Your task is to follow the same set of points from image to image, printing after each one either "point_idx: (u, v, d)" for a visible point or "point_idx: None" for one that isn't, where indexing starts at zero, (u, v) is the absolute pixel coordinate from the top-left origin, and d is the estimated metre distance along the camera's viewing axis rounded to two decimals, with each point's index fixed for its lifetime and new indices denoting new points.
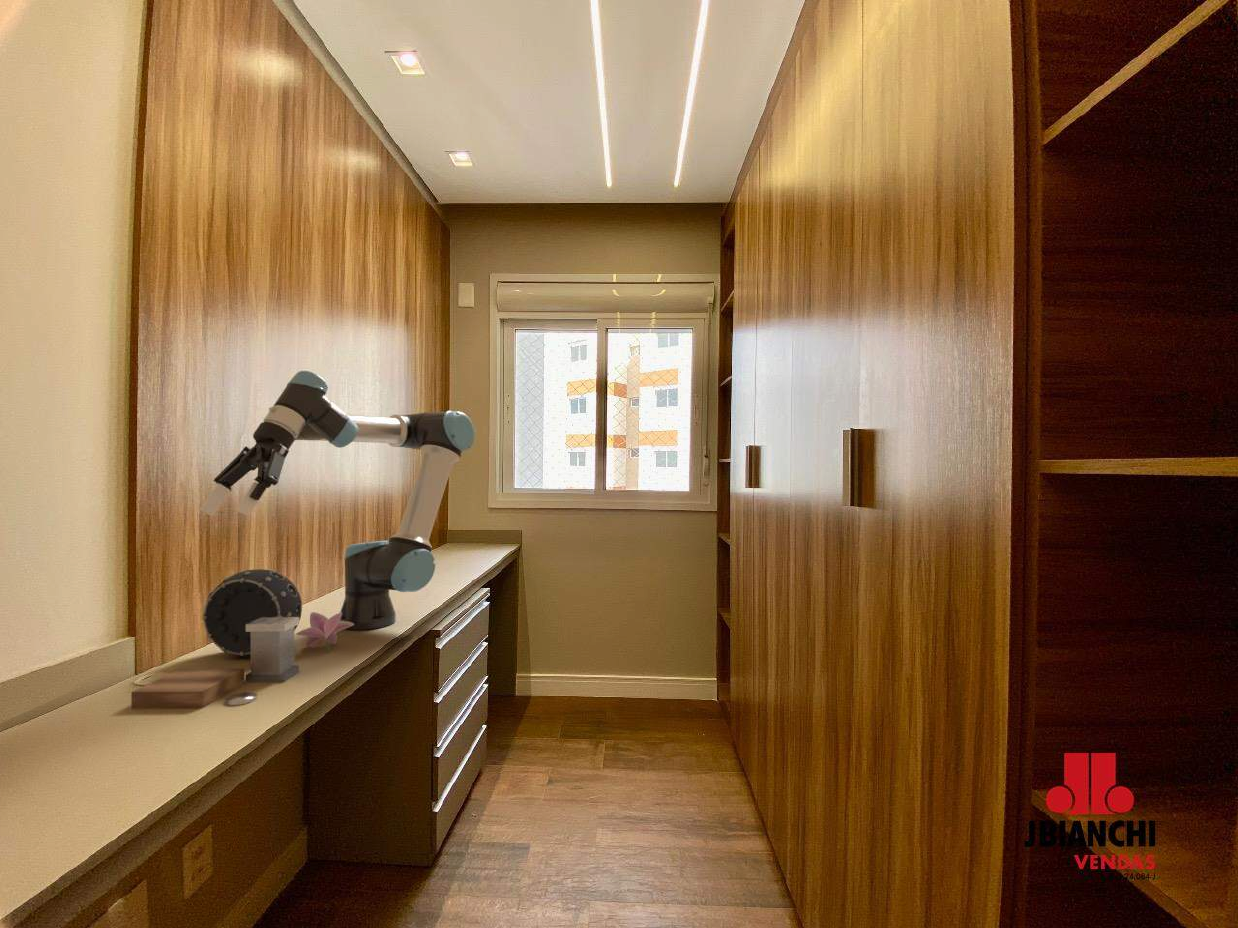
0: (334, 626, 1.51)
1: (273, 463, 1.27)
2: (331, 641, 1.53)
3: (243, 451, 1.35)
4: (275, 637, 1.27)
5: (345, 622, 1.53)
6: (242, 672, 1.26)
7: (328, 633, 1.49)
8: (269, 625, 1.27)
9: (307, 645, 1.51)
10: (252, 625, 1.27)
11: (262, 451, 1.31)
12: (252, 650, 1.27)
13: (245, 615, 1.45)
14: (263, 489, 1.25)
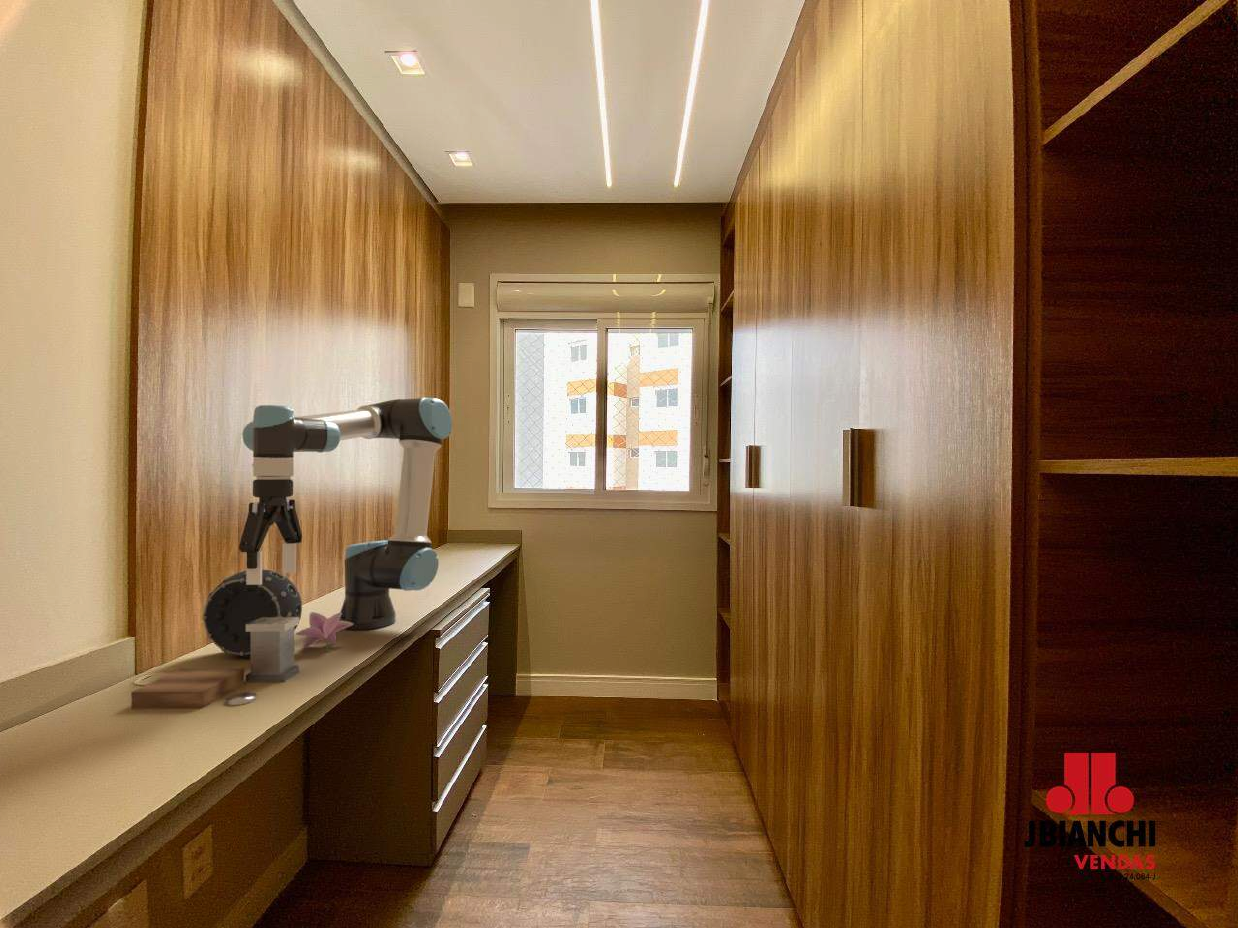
0: (333, 626, 1.51)
1: (245, 529, 1.22)
2: (330, 641, 1.54)
3: None
4: (275, 637, 1.27)
5: (344, 622, 1.53)
6: (242, 672, 1.26)
7: (327, 633, 1.49)
8: (269, 625, 1.27)
9: (306, 645, 1.51)
10: (252, 625, 1.27)
11: None
12: (252, 650, 1.27)
13: (245, 615, 1.45)
14: (252, 556, 1.22)
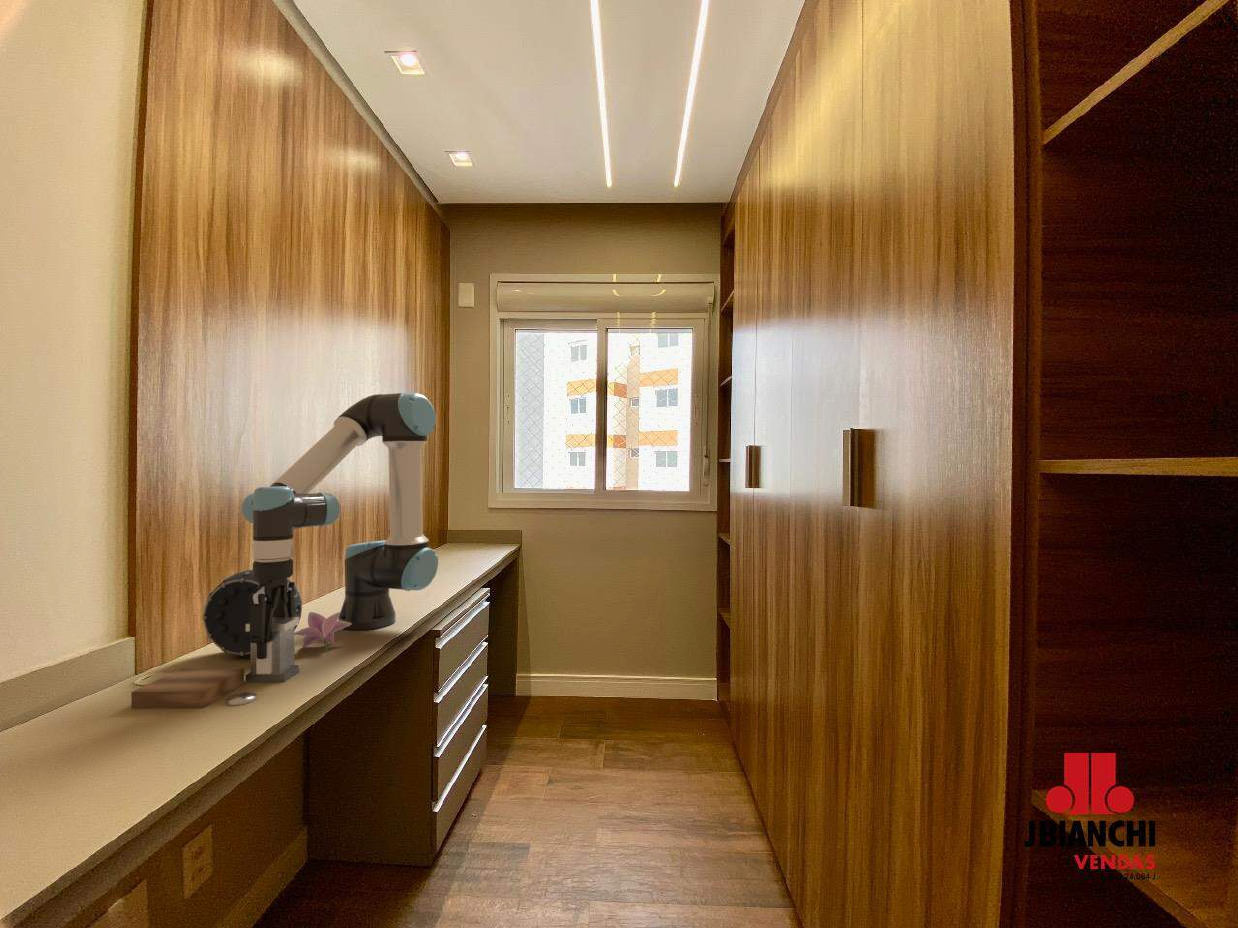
0: (332, 626, 1.51)
1: (251, 622, 1.24)
2: (329, 641, 1.54)
3: None
4: (275, 637, 1.27)
5: (343, 622, 1.53)
6: (242, 672, 1.26)
7: (326, 633, 1.49)
8: None
9: (305, 645, 1.51)
10: None
11: None
12: (252, 650, 1.27)
13: (244, 615, 1.45)
14: (262, 647, 1.25)
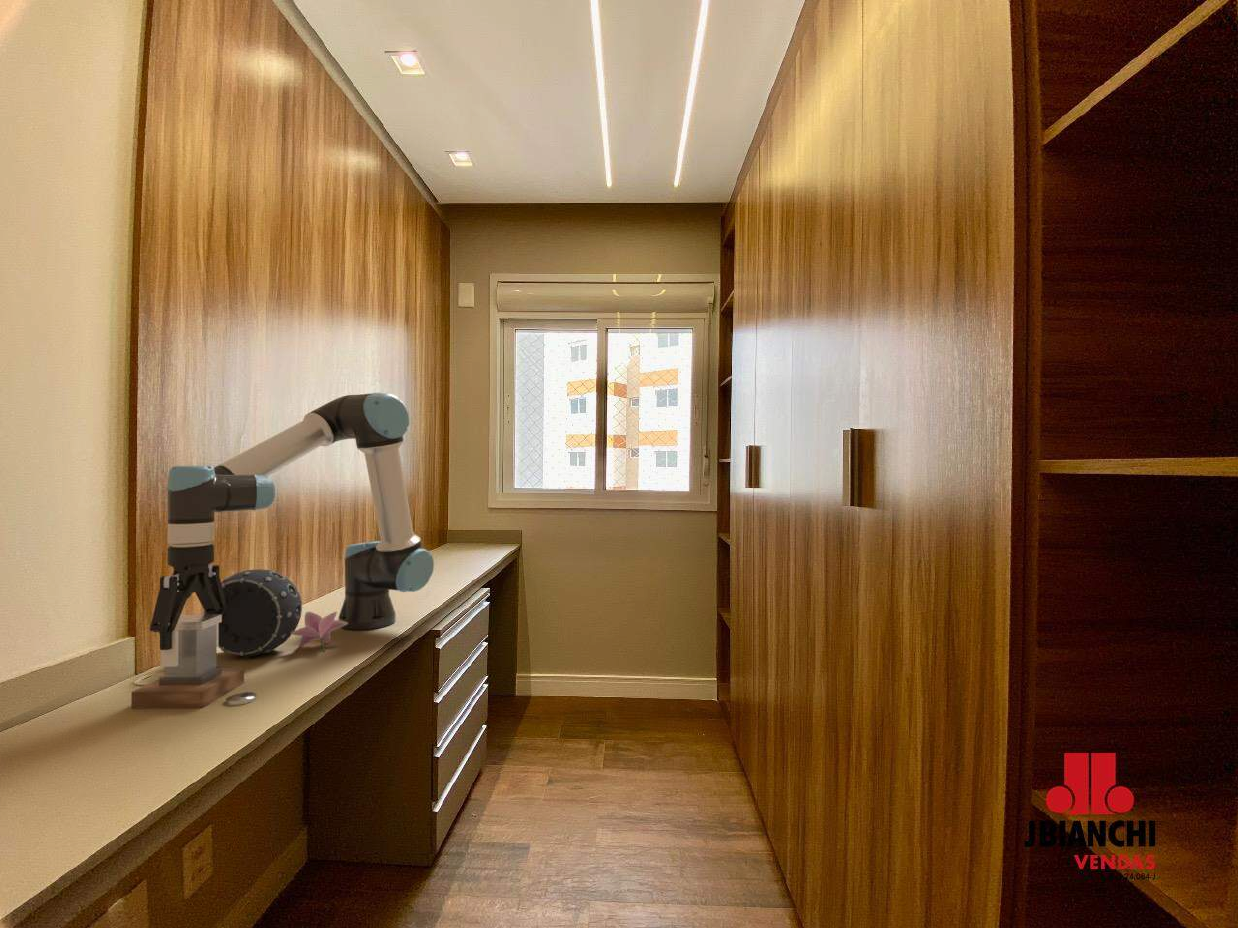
0: (328, 625, 1.51)
1: (157, 607, 1.12)
2: (325, 640, 1.54)
3: None
4: (192, 636, 1.17)
5: (339, 621, 1.54)
6: (242, 672, 1.26)
7: (323, 632, 1.50)
8: (185, 623, 1.17)
9: (301, 645, 1.51)
10: None
11: None
12: None
13: (244, 615, 1.45)
14: (165, 637, 1.12)
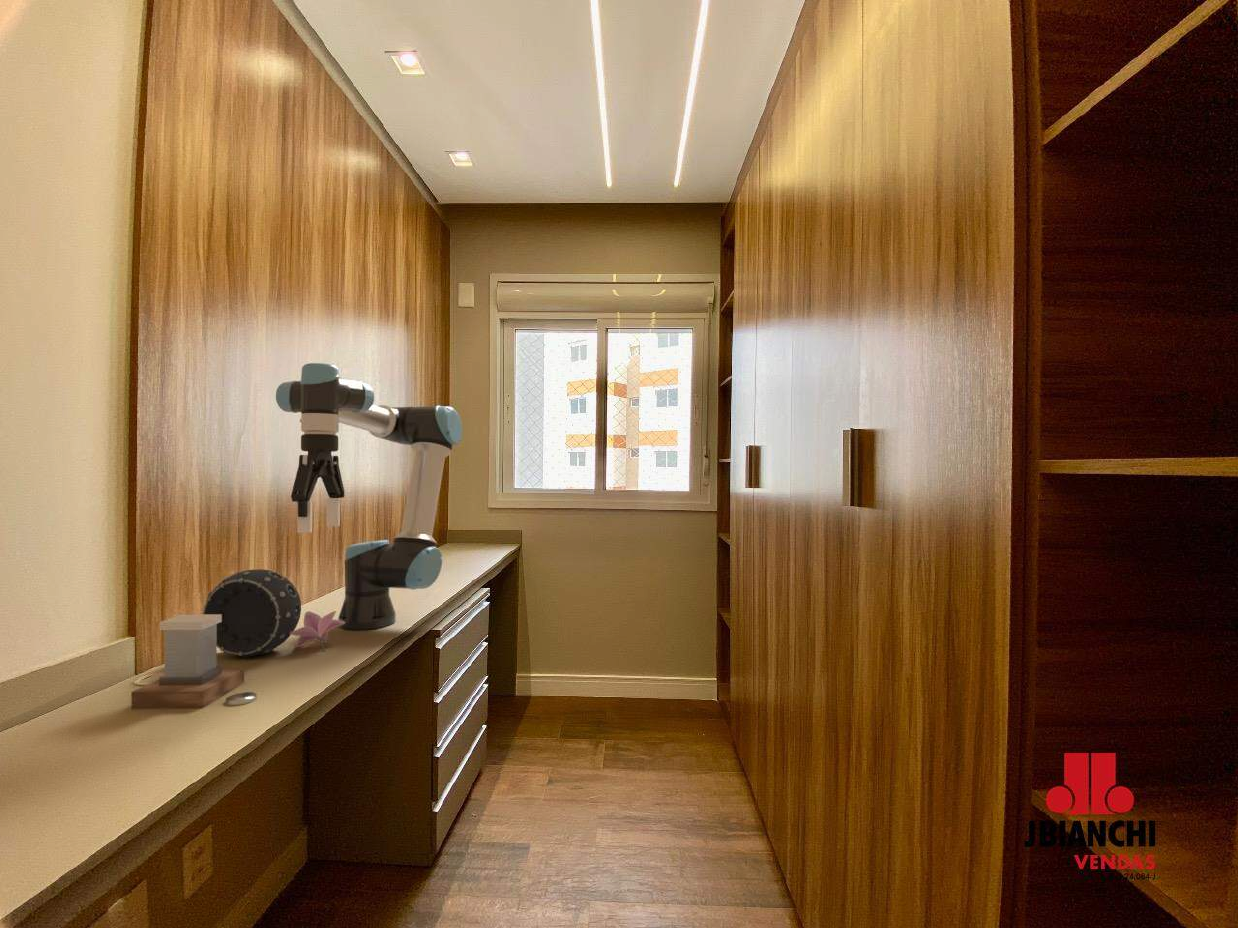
0: (327, 625, 1.52)
1: (297, 479, 1.28)
2: (322, 640, 1.54)
3: None
4: (192, 636, 1.17)
5: (337, 621, 1.54)
6: (242, 672, 1.26)
7: (321, 632, 1.50)
8: (185, 623, 1.17)
9: (298, 645, 1.51)
10: (166, 623, 1.17)
11: None
12: (166, 650, 1.17)
13: (244, 615, 1.45)
14: (303, 505, 1.28)
